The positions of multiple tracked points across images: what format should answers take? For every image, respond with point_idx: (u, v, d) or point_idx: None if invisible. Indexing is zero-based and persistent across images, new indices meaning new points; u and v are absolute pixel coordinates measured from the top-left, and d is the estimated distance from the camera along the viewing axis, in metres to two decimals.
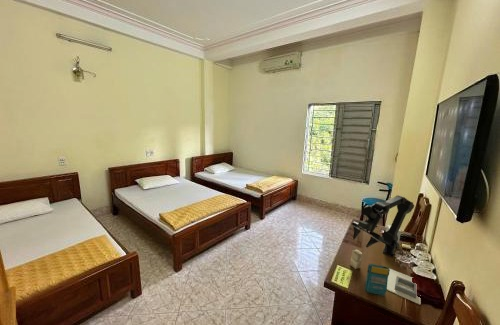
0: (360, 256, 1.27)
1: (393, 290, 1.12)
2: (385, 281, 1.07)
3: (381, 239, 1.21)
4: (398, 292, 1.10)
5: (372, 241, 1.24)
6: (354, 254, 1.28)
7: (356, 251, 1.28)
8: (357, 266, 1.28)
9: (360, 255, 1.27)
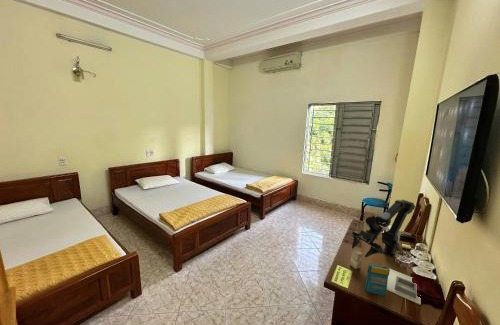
0: (360, 256, 1.27)
1: (393, 290, 1.12)
2: (385, 281, 1.07)
3: (381, 250, 1.22)
4: (398, 292, 1.10)
5: (372, 251, 1.24)
6: (354, 254, 1.28)
7: (356, 251, 1.28)
8: (357, 266, 1.28)
9: (360, 255, 1.27)
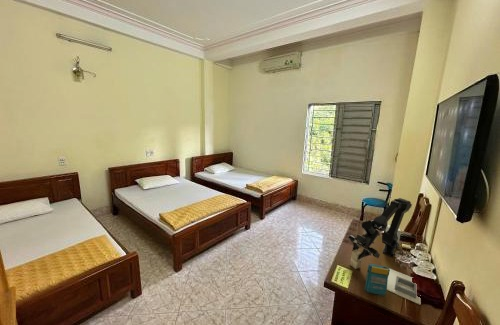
0: None
1: (393, 290, 1.12)
2: (385, 281, 1.07)
3: (377, 255, 1.21)
4: (398, 292, 1.10)
5: (364, 253, 1.26)
6: (354, 254, 1.28)
7: (356, 251, 1.28)
8: (357, 266, 1.28)
9: None
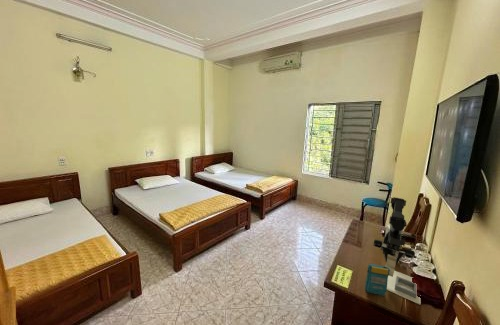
0: None
1: (393, 290, 1.12)
2: (385, 281, 1.07)
3: None
4: (398, 292, 1.10)
5: None
6: (391, 261, 1.12)
7: (391, 257, 1.14)
8: None
9: (395, 260, 1.13)
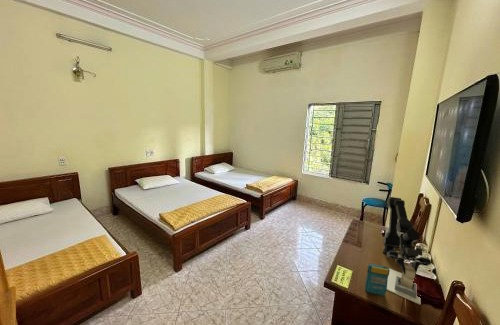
0: None
1: (393, 290, 1.12)
2: (385, 281, 1.07)
3: None
4: (398, 292, 1.10)
5: None
6: (410, 272, 1.09)
7: (409, 268, 1.10)
8: None
9: None
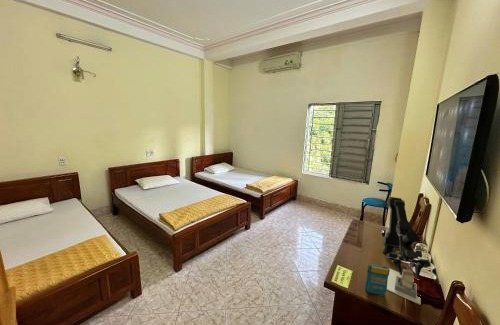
0: None
1: (393, 290, 1.12)
2: (385, 281, 1.07)
3: None
4: (398, 292, 1.10)
5: None
6: (409, 277, 1.10)
7: (408, 272, 1.11)
8: None
9: None
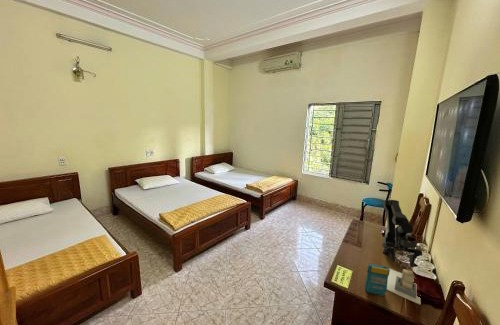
0: None
1: (393, 290, 1.12)
2: (385, 281, 1.07)
3: None
4: (398, 292, 1.10)
5: None
6: (409, 277, 1.10)
7: (408, 272, 1.11)
8: None
9: None
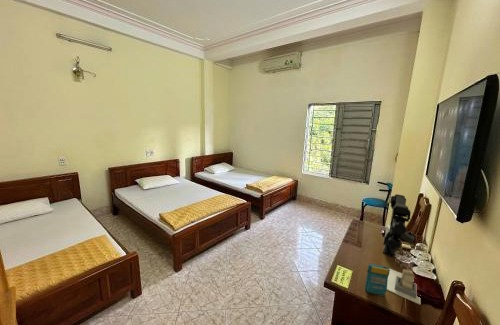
0: None
1: (393, 290, 1.12)
2: (385, 281, 1.07)
3: None
4: (398, 292, 1.10)
5: None
6: (409, 277, 1.10)
7: (408, 272, 1.11)
8: None
9: None
